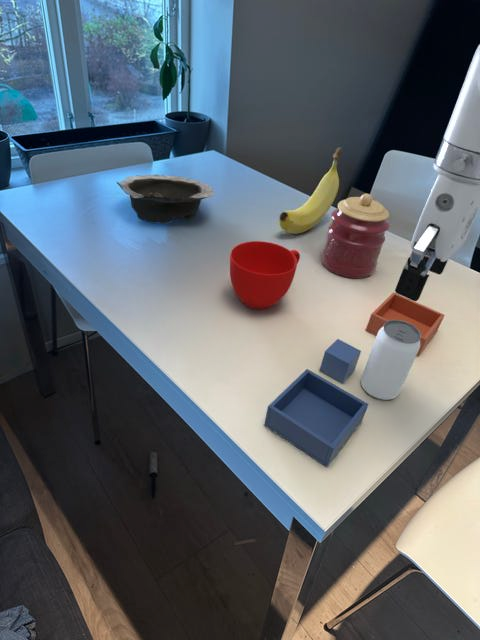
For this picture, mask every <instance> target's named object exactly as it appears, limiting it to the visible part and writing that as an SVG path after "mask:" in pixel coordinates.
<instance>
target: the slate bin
mask: <svg viewBox="0 0 480 640" xmlns="http://www.w3.org/2000/svg"><path fill="white" fill-rule="evenodd" d="M369 406H370V405H369V403H367V402H366V401H364V400H363V399H360V398H358V397H357V396H355V395H353V394H352V393H350V392H348V391H346V390H345V389H343V388H341V387H339V386H337V385H336V384H335V383H332V382H331V381H329V380H328V379H325V378H324V377H322V376H320V375H319V374H317V373H315V372H314V371H311V370H310V369H309V368H306V369H305V370H304V371H303V372H302V373H301V374H299V376H298V377H296V379H294V380H293V381H292V382H291V384H289V385H288V386H287V387H286V388H285V389H284V390H283V391H281V393H280V394H279V395H278V396H277V397H276V398H275V399H274V400H273V401H271V402H270V404H268V405H267V409H266V413H265V419H264V424H263V426H265V427H266V428H268V429H269V430H271V431H273V432H274V433H275V434H277V435H278V436H279V437H281V438H283V439H284V440H286V441H287V442H289V443H290V444H292V445H293V446H294V447H296V448H297V449H299V450H301V451H302V452H303V453H305V454H307V455H308V456H309V457H311V458H312V459H313V460H315V461H317V462H318V463H320V464H322V466H325V468H329V466H330V465H331V464H332V462H333V460H334V459H335V458H336V457H337V455H338V454H339V453H340V451H341V450H342V449H343V447H344V446H345V445H346V443H347V442H348V441H349V440H350V438H351V437H352V436H353V434H354V433H355V432H356V431H357V429H358V428H359V426H360V425H361V424H362V422H363V419H364V417H365V414H366V412H367V410H368V407H369Z"/></svg>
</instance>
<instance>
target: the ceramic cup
mask: <svg viewBox="0 0 480 640" xmlns="http://www.w3.org/2000/svg"><path fill="white" fill-rule="evenodd" d="M300 254H301V253H300V252H299V251H298V250H296V249H292V250H290V249H288V248H287V247H285V246H282V245H280V244H277V243H273V242H270V241H263V240H261V241H259V240H253V241H245V242H241V243H239V244H237V245H236V246H234V247H232V249H231V251H230V253H229V277H230V283H231V287H232V289H233V291H234V293H235V294H236V296H237V297H238V298H239V300H240V301H241V302H242V304H244V305H245V306H246V307H248V308H251V309H255V310H265V309H269V308H271V307H272V306H274V305H275V304H277V303H278V302H279V301H281V300H282V299H283V298H284V297H285V296H286V294H287V293H288V291H289V289H290V288H291V285H292V283H293V281H294V277H295V274H296V271H297V268H298V264H299V261H300V260H301V259H300V258H301V255H300Z"/></svg>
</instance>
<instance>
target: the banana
mask: <svg viewBox="0 0 480 640" xmlns="http://www.w3.org/2000/svg"><path fill="white" fill-rule="evenodd" d="M342 150H343V149H342V147H341V146H340V147H339V146H338V147H337V148H336V149H335V151H334V153H333V154H332V158H333V162H332V165H331V167H330V169H329V170H328V172H326V173H325V174H324V176H322V179H321V180H320V182H319V183H318V184H317V186H316V188H315V190H314V191H313V193H312V194H311V196H310V197H309V198H308V200H307V201H306V202H305V203H304V204H303V205H301V206H300V207H298V208H296V209H292V210H291V209H289V210H284V211H282V212H281V213H280V214H279V217H278V224H279V228H280V229H281V230H283V231H284V232H286V233H289V234H294V235H295V234H296V235H298V234H302V233H306V232H307V231H309V230H310V229H312V228H314V227H315V226H316V225H317V224H318V223H319V222H321V220H322V219H323V218H324V216H326V214H327V213H328V211H329V209H331V207H332V205H333V203H334V201H335V200H336V197H337V195H338V191H339V187H340V178H339V174H338V170H337V166H338V161H339V159H340V157H341V155H342Z"/></svg>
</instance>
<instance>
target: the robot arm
mask: <svg viewBox="0 0 480 640" xmlns="http://www.w3.org/2000/svg"><path fill="white" fill-rule="evenodd" d="M457 97H458V98H457V100H456V103H455V105H454V108H453V110H452V114H451V117H450V118H449V120H448V121H449V122H448V124H447V127H446V129H445V132H444V135H443V137H442V139H441V140H442V141H441V143H440V146H439V149H438V150H437V154H436V156H435V159H434V162H433V164H432V168H433V169H434V171H436V172H437V173H438V175H437V176H436V179H435V181H434V184H433V185H432V188H431V189H430V193H429V195H428V198H427V200H426V202H425V204H424V207H423V209H422V211H421V214H420V216H419V220H418V222H417V224H416V227H415V229H414V232H413V235H412V237H411V242H410V248H411V249H412V251H411V253H410V255H409V257H408V258H407V260H406V262H405V264H404V265H403V268H402V271H401V273H400V275H399V279H398V281H397V284H396V286H395V288H394V293H396V294H398V295H401V296H403V297H405V298H408V299H410V300H412V301H414V302H417V301H419V299H420V297H421V295H422V293H423V290H424V288H425V286H426V283H427V282H428V279H429V276H430V275H429V274H428V273H429V272H432V273H433V274H436V275H442V273H444V270H445V269H446V268H445V267H446V266H447V263H448V261H449V260H450V259H451V258H452V257H453V256H454V255H455V254H456V253H457V251H459V249H460V248H461V247H462V246H463V244H464V243H465V242H466V240H467V238H468V236H469V234H470V231H471V229H472V226H473V224H474V221H475V219H476V217H477V214H478V212H479V210H480V44H478V46H477V48H476V50H475V52H474V54H473V57H472V60H471V62H470V64H469V67H468V69H467V72H466V75H465V78H464V81H463V84H462V86H461V89H460V91H459V95H458V96H457Z"/></svg>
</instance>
